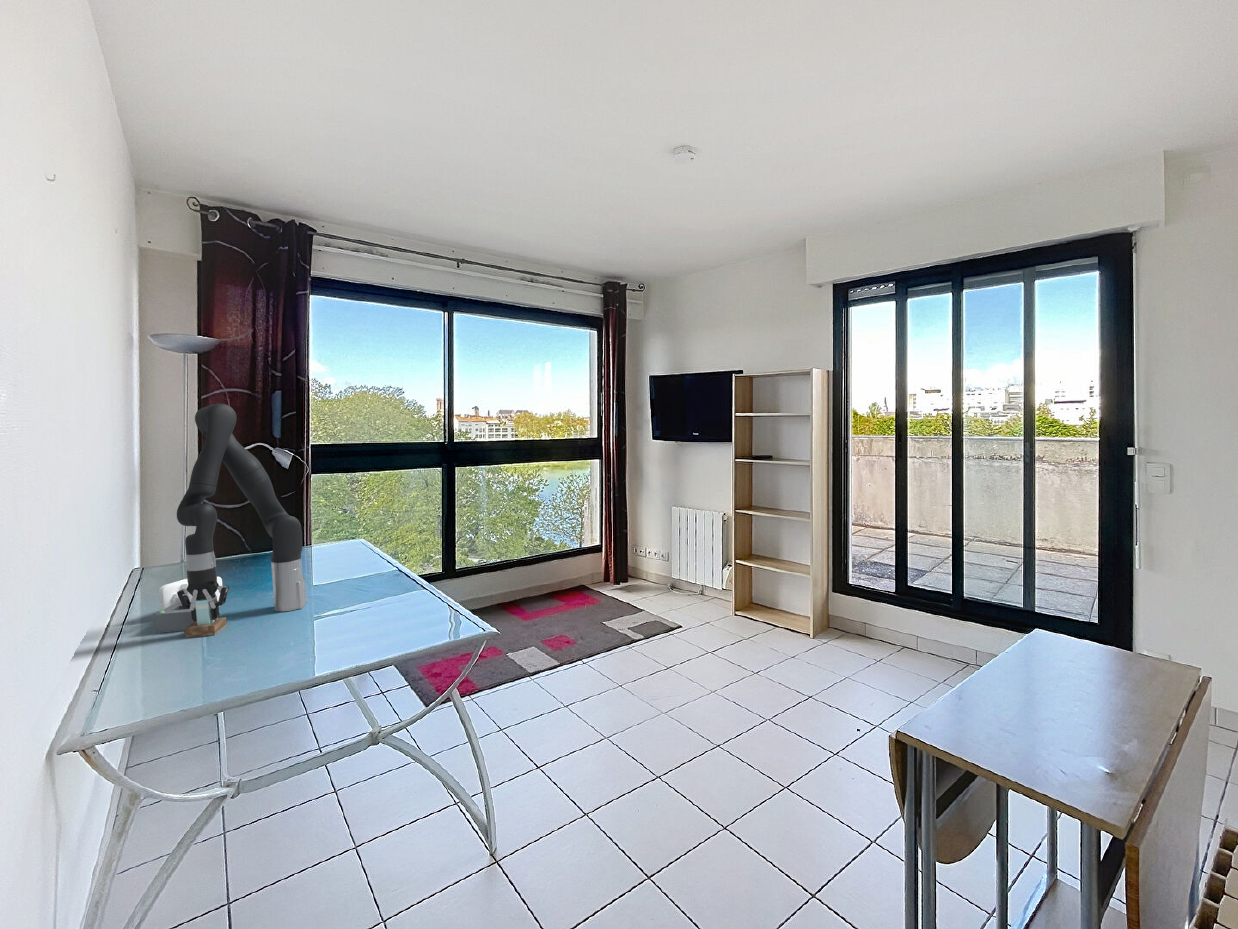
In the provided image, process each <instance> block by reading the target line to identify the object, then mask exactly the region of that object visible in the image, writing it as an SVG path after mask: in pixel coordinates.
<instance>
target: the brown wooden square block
mask: <svg viewBox="0 0 1238 929" xmlns="http://www.w3.org/2000/svg"><path fill="white" fill-rule="evenodd" d="M225 626H226V627H227V617H226V616H224V617H217V619H216V620H215V621H214V622H213V623H212V624H208V625H197V622H194V623H192V624H191V625H189V626H188V627H186V628H185V631H184V632H185V638H186V639H187V638H199V637H207V636H206V635H210V636H214V635H213V634H216V633H217V632H218V633H220V632H221V631H222V630H224V629H225V628H226V627H225ZM224 627H225V628H224ZM223 628H224V629H223ZM221 629H222V630H221ZM220 630H221V631H220ZM219 631H220V632H219ZM218 633H217V634H218ZM217 634H216V635H217Z"/></svg>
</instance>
